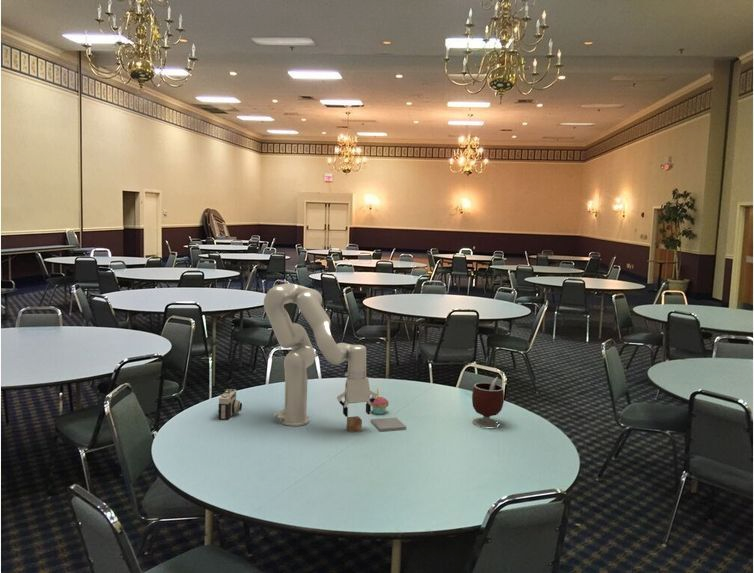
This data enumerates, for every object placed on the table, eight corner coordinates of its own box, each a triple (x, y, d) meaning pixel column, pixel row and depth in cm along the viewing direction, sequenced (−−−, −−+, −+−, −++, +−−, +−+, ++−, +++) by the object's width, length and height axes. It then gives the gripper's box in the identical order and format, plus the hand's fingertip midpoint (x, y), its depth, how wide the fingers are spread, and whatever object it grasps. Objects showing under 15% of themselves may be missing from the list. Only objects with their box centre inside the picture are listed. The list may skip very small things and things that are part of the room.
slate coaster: (379, 431, 246) (380, 428, 246) (370, 422, 258) (370, 419, 258) (406, 429, 251) (406, 426, 250) (395, 420, 262) (396, 417, 262)
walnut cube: (350, 432, 244) (350, 420, 244) (346, 428, 249) (347, 416, 248) (361, 431, 246) (362, 420, 245) (357, 427, 250) (358, 416, 250)
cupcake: (380, 416, 265) (381, 391, 264) (365, 412, 270) (367, 387, 269) (391, 412, 272) (393, 387, 271) (377, 408, 277) (378, 383, 276)
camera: (236, 420, 251) (237, 398, 250) (217, 419, 251) (217, 397, 250) (244, 410, 265) (244, 388, 264) (226, 409, 265) (226, 388, 264)
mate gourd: (493, 431, 253) (496, 386, 251) (464, 423, 261) (467, 380, 259) (508, 422, 265) (511, 379, 263) (480, 415, 274) (483, 373, 271)
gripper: (339, 378, 238) (339, 419, 240) (379, 375, 244) (379, 415, 246) (334, 374, 245) (334, 414, 247) (373, 371, 251) (373, 410, 253)
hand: (356, 414), depth 246 cm, fingers open, 9 cm apart
